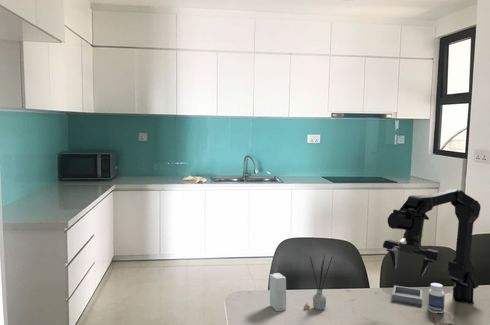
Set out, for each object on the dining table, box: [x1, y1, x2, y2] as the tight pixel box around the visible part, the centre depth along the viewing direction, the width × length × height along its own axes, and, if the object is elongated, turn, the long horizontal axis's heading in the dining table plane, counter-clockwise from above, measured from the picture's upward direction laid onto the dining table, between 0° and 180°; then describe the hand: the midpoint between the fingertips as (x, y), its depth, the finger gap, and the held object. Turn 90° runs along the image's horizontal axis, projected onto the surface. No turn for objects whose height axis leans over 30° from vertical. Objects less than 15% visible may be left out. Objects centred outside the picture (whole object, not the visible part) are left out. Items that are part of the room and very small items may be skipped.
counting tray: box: [391, 284, 423, 307], centre depth 155 cm, size 11×11×2 cm
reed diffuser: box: [303, 254, 333, 310], centre depth 144 cm, size 10×7×20 cm
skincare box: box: [269, 272, 287, 312], centre depth 145 cm, size 6×4×12 cm
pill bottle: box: [427, 282, 446, 314], centre depth 144 cm, size 5×5×10 cm
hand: (407, 273), depth 143 cm, fingers open, 9 cm apart
